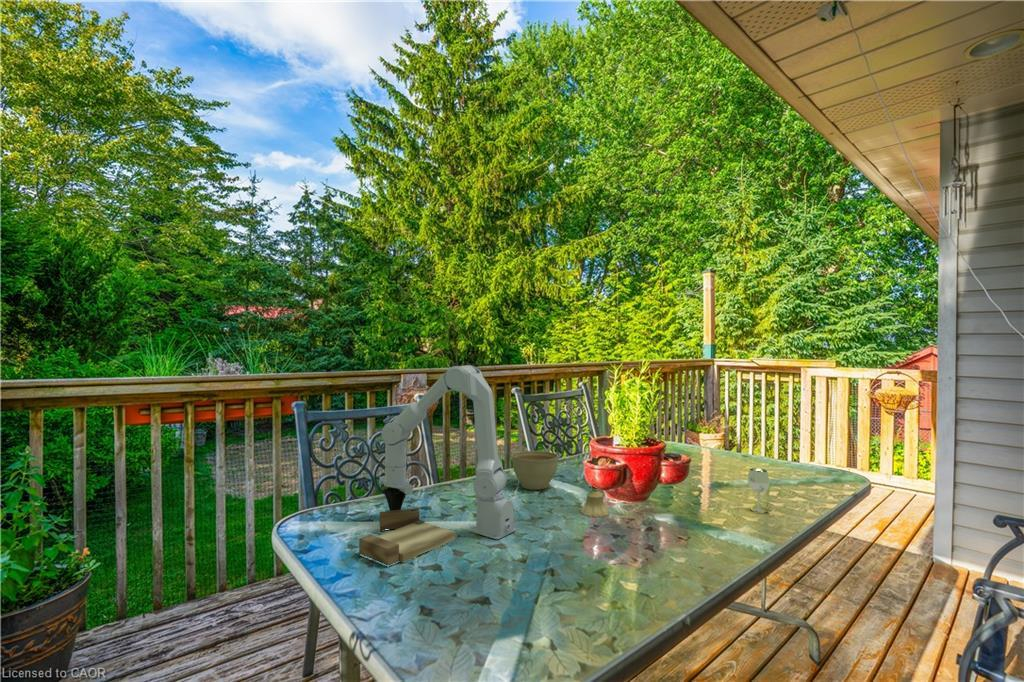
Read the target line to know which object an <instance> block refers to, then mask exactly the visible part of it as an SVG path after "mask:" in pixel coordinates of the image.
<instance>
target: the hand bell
mask: <svg viewBox="0 0 1024 682" xmlns="http://www.w3.org/2000/svg"><path fill="white" fill-rule="evenodd" d="M591 464H594V465H599V462H598V459H597V457H592V458H591V462H590V465H591ZM585 501H586V502H585V504H584V505H583V507H582V508H581V509H580V514H581V515H584V516H586V515H587V516H586V517H589V516H593V517H592V518H601V517H600V516H605V515H607V514H609V515H610V511H609V509H608V508H607V507H606V505H605V501H604V496H603V493H602V492H600V491H599V487H598V488H595V487H593V486H592V485H591V491H590V492H588V493H587V495H586V500H585ZM607 516H608V515H607ZM605 517H606V516H605Z"/></svg>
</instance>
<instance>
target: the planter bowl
mask: <svg viewBox="0 0 1024 682" xmlns="http://www.w3.org/2000/svg"><path fill="white" fill-rule="evenodd" d="M511 460H512V461H511V462H512V468H513V471H514V474H515V476H516V478H517V480H518V481H519V482H520V487H521V488H523V489H525V490H526V489H527V490H545V489H548V488H549V487H550V482H551V481H552V480H553V478H554V477H555V475H556V472H557V468H558V461H559V455H558V454H557V453H555V452H552V451H545V450H544V451H543V450H542V451H541V450H524V451H523V450H522V451H517V452H514V453H513V454H511Z"/></svg>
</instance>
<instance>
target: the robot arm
mask: <svg viewBox="0 0 1024 682" xmlns="http://www.w3.org/2000/svg"><path fill="white" fill-rule="evenodd" d="M452 391H456V392H458V393H461V394H464V395H465V396H466V397H468V398H469V399H470V400H471V401H472V403H473V414H474V415H473V417H474V426H475V436H476V447H477V448H476V449H477V460H478V461H477V465H476V468H475V480H474V482H473V491H474V493H475V494H476V526H473V527H471V528H470V529H469V532H471V533H473V534H477V535H480V536H483V537H484V536H485V537H487V538H491V539H494V540H500V539H502V538H504V537H505V536H508V535H509V534H512V533H513V532H516V531H517V530H516V528H515V506H514V504H513V502H512V501H511V500H509V499H507V498H506V497H505V492H504V488H505V487H506V485H507V482H508V477H507V476H508V475H507V473H506V472H505V470H504V468H503V462H502V461H501V459H500V458H499V453H498V441H497V427H496V418H495V417H496V416H495V407H494V395H493V390H492V388H491V387H490V385H489V384H488V382H487V380H486V379H485V377H484V376H483V374H482V371H481V370H480V369H478V368H477V367H475V366H474V365H471V364H466V365H455V366H454V365H453V366H451V367H449V368H448V369H447V370H446V372H444V373H443V374H441V375H440V377H439V378H438V379H437V380H436V382H435V383H433V384H432V386H431V387H430V388H429V389H428V390H427V391H426V392H425V394H424V395H423V396H422V397H421V398H420V399H419V400H418V401H417V402H414V401H413V402H410V403H406V404H405V405H404V407H403V408H404V409H403V410H402V411H401V412H400V413H399V414H398V415H395V416H394V417H393V421H392V422H387V423H385V424H384V426H383V427H382V429H381V432H380V433H381V437H382V440H383V442H384V445H385V446H384V448H385V449H384V451H385V453H384V454H385V455H384V457H385V458H384V475H383V476H379V479H378V481H379V484H380V485H384V486H385V487H387V488H384V489H382V494H383V495H384V497H385V500H386V501H387V505H388V509H389V510H388V511H394V510H402V507H403V503H404V500H405V498H406V496H407V495H411V494H414V486H413V485H411V484H410V479H409V478H407V445H408V439H410V436H411V433H412V432H413V430H414V429H416V428H417V427H418V426H419V425H420V424H421V423H422V422H423V421H424V420H425V419H426V418H427V411H428V410H429V409H430V408H431V407H432V406H434V404H435V403H437V402H438V401H439V400H440V399H441V398H442V397H443V396H444V395H445V394H446V393H448V392H452Z"/></svg>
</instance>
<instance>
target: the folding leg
mask: <svg viewBox="0 0 1024 682" xmlns="http://www.w3.org/2000/svg"><path fill="white" fill-rule="evenodd" d="M417 520H420V509H419V507H418V508H417V507H414V508H406V509H401V510H394V511H390V510H386V511H379V526H380V527H379V530H385V529H395V530H396V529H399V528H401V527H404V526H407V525H409V524H412V523H414V521H417Z"/></svg>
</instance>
